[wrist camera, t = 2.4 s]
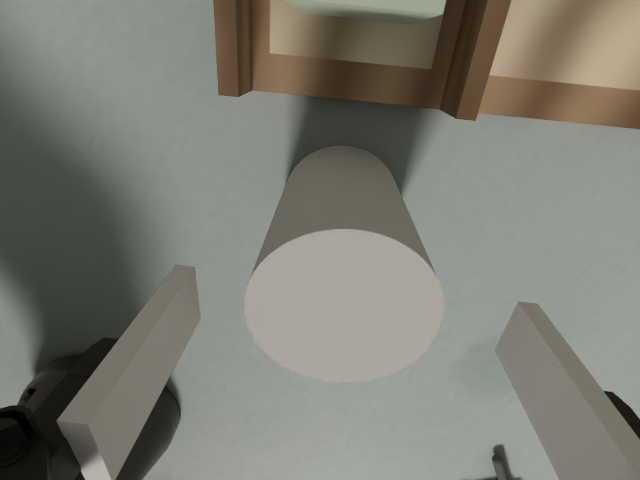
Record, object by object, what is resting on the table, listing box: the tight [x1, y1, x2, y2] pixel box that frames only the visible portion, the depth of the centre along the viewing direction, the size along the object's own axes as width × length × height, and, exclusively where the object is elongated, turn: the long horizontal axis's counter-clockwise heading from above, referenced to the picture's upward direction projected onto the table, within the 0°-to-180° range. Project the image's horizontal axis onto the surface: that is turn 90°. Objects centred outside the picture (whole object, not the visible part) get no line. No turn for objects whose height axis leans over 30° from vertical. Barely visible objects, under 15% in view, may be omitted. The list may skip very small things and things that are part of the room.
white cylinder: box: [244, 145, 444, 383], centre depth 19 cm, size 8×8×12 cm
